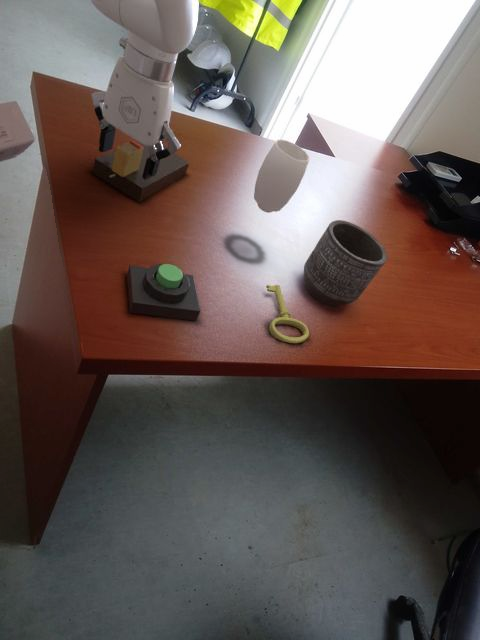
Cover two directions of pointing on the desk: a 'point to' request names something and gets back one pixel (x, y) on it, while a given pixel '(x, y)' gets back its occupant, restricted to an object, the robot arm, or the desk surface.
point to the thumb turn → (127, 158)
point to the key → (285, 319)
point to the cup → (280, 175)
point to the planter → (342, 264)
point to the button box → (161, 295)
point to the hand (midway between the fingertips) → (126, 163)
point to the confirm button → (169, 276)
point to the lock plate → (134, 182)
